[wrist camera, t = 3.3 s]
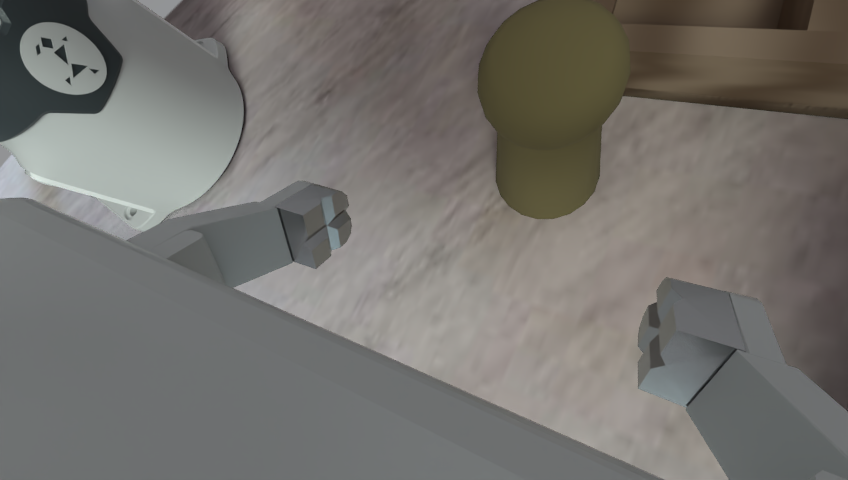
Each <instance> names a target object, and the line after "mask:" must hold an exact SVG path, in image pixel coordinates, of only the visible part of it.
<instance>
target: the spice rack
mask: <svg viewBox="0 0 848 480" xmlns="http://www.w3.org/2000/svg"><path fill="white" fill-rule="evenodd" d="M592 1H595V2H597V3H600V4H601V5H602V6H604V7H605V8H606V9H607V10H608V11H610V12H611V13H612V14H613V15H614V16H615V17H616V18H617V19H618V20H619V22H620V23H621V25H622V27H623V29H624V31H625V33H626V35H627V37H628V39H629V48H630V68H631V73H630V76H629V79H628V81H627V84H626V87H625V90H624V93H623V96H631V97H641V98H650V99H660V100H670V101H679V102H689V103H699V104H709V105H718V106H728V107H738V108H747V109H757V110H767V111H777V112H786V113H796V114H806V115H815V116H825V117H835V118H845V119H848V0H592Z"/></svg>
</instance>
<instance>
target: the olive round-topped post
mask: <svg viewBox="0 0 848 480" xmlns="http://www.w3.org/2000/svg"><path fill="white" fill-rule="evenodd" d="M630 73H631V68H630V48H629V39H628V37H627V35H626V33H625V31H624V29H623V27H622V25H621V23H620V22H619V20H618V19H617V18H616V17H615V16H614V15H613V14H612V13H611V12H610V11H608V10H607V9H606V8H605V7H604V6H602V5H601V4H600V3H597V2H595V1H592V0H538V1H536V2H534V3H531V4H529V5H527V6H525V7H523V8H521V9H519V10H518V11H517V12H515V13H514V14H513V15H512V16H510V17H509V18H508V19H507V20H505V21H504V22H503V23H502V25H501V26H500V27H499V28H498V30H497V31H496V32H495V34H494V35H493V36H492V38H491V39H490V41H489V42H488V44H487V45H486V48H485V50H484V53H483V56H482V58H481V61H480V64H479V72H478V95H479V98H480V102H481V105H482V108H483V111H484V114H485V117H486V119H487V120H488V121H489V122H490V123H491V125H492V126H493V127H494V128H495V130H496V131H497V163H496V183H497V186H498V189H499V192H500V195H501V196H502V198H503V199H504V200H505V201H506V203H507V204H508V205H509V206H510V207H511V208H513V209H514V210H516V211H517V212H519V213H520V214H522V215H525V216H529V217H532V218H536V219H554V218H558V217H561V216H564V215H567V214H570V213H572V212H573V211H575V210H576V209H578V208H579V207H581V206H582V205H584V204H585V202H586V201H587V200H588V199H589V197H590V196H591V195H592V194H593V192H594V191H595V188H596V185H597V182H598V179H599V176H600V154H601V131H602V125H603V124H604V123H605V121H606V120H607V119H608V117H609V116H610V115H611V114H612V112H613V111H614V110H615V109H616V107H617V106H618V105H619V103H620V100H621V98H622V96H623V93H624V90H625V87H626V84H627V81H628V79H629V76H630Z"/></svg>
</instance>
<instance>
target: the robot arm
mask: <svg viewBox="0 0 848 480" xmlns="http://www.w3.org/2000/svg"><path fill="white" fill-rule="evenodd" d="M243 115H244V107H243V98H242V94H241V91H240V88H239V86H238V84H237V82H236V80H235V79H234V77H233V76H232V74H231V73H230V71H229V69H228V63H227V54H226V49H225V47H224V45H223V44H221V43H220V42H218V41H217V40H215V39H214V38H204V39H198V40H193V39H191V38H190V37H189V36H187V35H186V34H184V33H183V32H181V31H180V30H179V29H177V28H176V27H174V26H173V25H172V24H170V23H169V22H167V21H166V20H164V19H163V18H161V17H160V16H158V15H157V14H156V13H154V12H153V11H151V10H150V9H149V8H147V7H146V6H144V5H143V4H141V3H140V2H139V1H137V0H0V145H1V146H3V147H4V148H6V149H7V150H8V151H9V152H10V153H12V154H13V156H14V157H15V158H16V159H17V161H18V163H19V165H20V166H21V167H22V168H23V169H25V173H26V174H27V175H29V176H31V177H32V178H33V179H34V180H35V181H38V182H40V183H43V184H46V185H50V186H57V187H61V188H64V189H68V190H71V191H75V192H79V193H82V194H86V195H89V196H91V197H95V198H96V199H97V200H99V201H100V202H101V203H102V204H104V205H105V206H106V207H107V208H108V209H110V210H111V211H112V212H113V213H114V214H116V215H117V216H118V217H119V218H121V219H122V220H123V221H124V222H125V223H127V224H128V225H129V226H130V227H131V228H133V229H136V230H139V231H142V233H140V234H138V235H136V236H134V237H132V238H130V239H128V240H123V239H121V238H119V237H117V236H114V235H112V234H110V233H108V232H105V231H103V230H101V229H99V228H96V227H94V226H92V225H89V224H87V223H85V222H83V221H80V220H78V219H76V218H74V217H71V216H69V215H67V214H65V213H62V212H60V211H58V210H56V209H53V208H51V207H49V206H47V205H45V204H43V203H41V202H38V201H36V200H33V199H28V198H5V199H0V480H664V479H662V478H660V477H657V476H655V475H653V474H651V473H648V472H646V471H644V470H642V469H639V468H637V467H635V466H633V465H630V464H628V463H626V462H624V461H621V460H619V459H617V458H615V457H612V456H610V455H608V454H606V453H603V452H601V451H599V450H597V449H594V448H592V447H590V446H588V445H585V444H583V443H581V442H579V441H576V440H574V439H572V438H570V437H567V436H565V435H563V434H561V433H558V432H556V431H554V430H552V429H549V428H547V427H545V426H543V425H540V424H538V423H536V422H534V421H531V420H529V419H527V418H524V417H522V416H520V415H518V414H515V413H513V412H511V411H509V410H506V409H504V408H502V407H500V406H497V405H495V404H493V403H491V402H488V401H486V400H484V399H482V398H479V397H477V396H475V395H473V394H470V393H468V392H466V391H464V390H461V389H459V388H457V387H454V386H452V385H450V384H448V383H445V382H443V381H441V380H439V379H436V378H434V377H432V376H430V375H427V374H425V373H423V372H421V371H418V370H416V369H414V368H412V367H409V366H407V365H405V364H403V363H400V362H398V361H396V360H394V359H391V358H389V357H387V356H385V355H382V354H380V353H378V352H376V351H373V350H371V349H369V348H367V347H364V346H362V345H360V344H358V343H355V342H353V341H351V340H349V339H346V338H344V337H342V336H340V335H337V334H335V333H333V332H331V331H328V330H326V329H324V328H322V327H319V326H317V325H315V324H313V323H310V322H308V321H306V320H304V319H301V318H299V317H297V316H295V315H292V314H290V313H288V312H286V311H283V310H281V309H279V308H277V307H274V306H272V305H270V304H268V303H265V302H263V301H261V300H259V299H256V298H254V297H252V296H250V295H247V294H245V293H243V292H241V291H238V290H236V289H234V287H236V286H238V285H241V284H243V283H246V282H248V281H250V280H253V279H255V278H257V277H260V276H262V275H265V274H267V273H269V272H272V271H274V270H276V269H279V268H281V267H284V266H286V265H288V264H291V263H293V261H294V262H297V263H300V264H303V265H306V266H308V267H311V268H314V269H317V268H318V267H319V266H320V265H321V264H322V263H324V262H325V261H326V260H327V259H328V258H329V257H330V256H331V251H332V250H334V249H337V248H340V247H341V246H343V245H344V244H345V243H346V242H347V240H348V238H349V236H350V234H351V227H352V224H351V218H350V217H349V215H348V214H347V212H346V209H347V208H348V206H349V204H348V199H347V195H346V194H344V193H343V192H342V191H338V190H335V189H331V188H328V187H325V186H321V185H318V184H314V183H310V182H306V181H297V182H295V183H293V184H291V185H290V186H288V187H286V188H284V189H283V190H281V191H279V192H277V193H276V194H274V195H272V196H270V197H269V198H267V199H265V200H263V201H262V202H260V203H259V202H251V203H246V204H241V205H237V206H232V207H227V208H222V209H217V210H212V211H207V212H202V213H197V214H192V215H187V216H182V217H177V218H172V219H168V220H166V221H164V222H162V221H163V220H164V219H165V218H166V217H167V215H168V214H170V213H171V212H173V211H175V210H177V209H179V208H181V207H183V206H186V205H188V204H190V203H191V202H193V201H195V200H196V199H198V198H199V197H200V196H202V195H203V194H204V193H205V192H206V191H207V190H209V189H210V188H211V187H212V185H213V184H214V183H215V182H216V181H217V180H218V179H219V177H220V176H221V175H222V173H223V172H224V170H225V169H226V167H227V165H228V164H229V162H230V160H231V158H232V156H233V154H234V152H235V150H236V147H237V144H238V142H239V138H240V135H241V130H242V125H243ZM161 222H162V223H161ZM638 347H639V348H640V350H641V351H642V352H643V354H642V356H641V358H640V359H639V361H638V389H641V390H643V391H646V392H648V393H651V394H653V395H656V396H658V397H661V398H663V399H666V400H668V401H671V402H673V403H676V404H678V405H681V406H683V407H686V411H687V413H688V414H689V416H690V417H691V419H692V421H693V422H694V424H695V425H696V427H697V429H698V430H699V432H700V433H701V435H702V437H703V438H704V440H705V442H706V443H707V445H708V446H709V448H710V450H711V451H712V453H713V454H714V456H715V458H716V459H717V461H718V462H719V464H720V466H721V467H722V469H723V470H724V472H725V474H726V475H727V477H728V478H729V480H848V411H847V410H845V409H844V408H843V407H842V406H841V405H840V404H838V403H837V402H836V401H835V400H834V399H833V398H832V397H830V396H829V395H828V394H827V393H826V392H825V391H823V390H822V389H821V388H820V387H819V386H818V385H817V384H815V383H814V382H813V381H812V380H811V379H810V378H808V377H807V376H806V375H805V374H804V373H803V372H802V371H800V370H799V369H798V368H795V367H792V366H789V365H787V364H786V362H785V359H784V357H783V354H782V352H781V349H780V347H779V344H778V342H777V339H776V337H775V334H774V332H773V329H772V327H771V324H770V322H769V319H768V317H767V314H766V312H765V309H764V307H763V304H762V302H760V301H759V300H758V299H757V298H753V297H749V296H744V295H740V294H736V293H731V292H727V291H721V290H717V289H713V288H709V287H705V286H701V285H697V284H693V283H689V282H685V281H681V280H677V279H673V278H669V277H666V278H665V279H664V280H663V281H662V282H661V284H660V286H659V287H658V289H657V302H656V303H654V304H651V305H649V306H648V307H647V309H646V311H645V313H644V315H643V318H642V321H641V324H640V327H639V333H638Z"/></svg>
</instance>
